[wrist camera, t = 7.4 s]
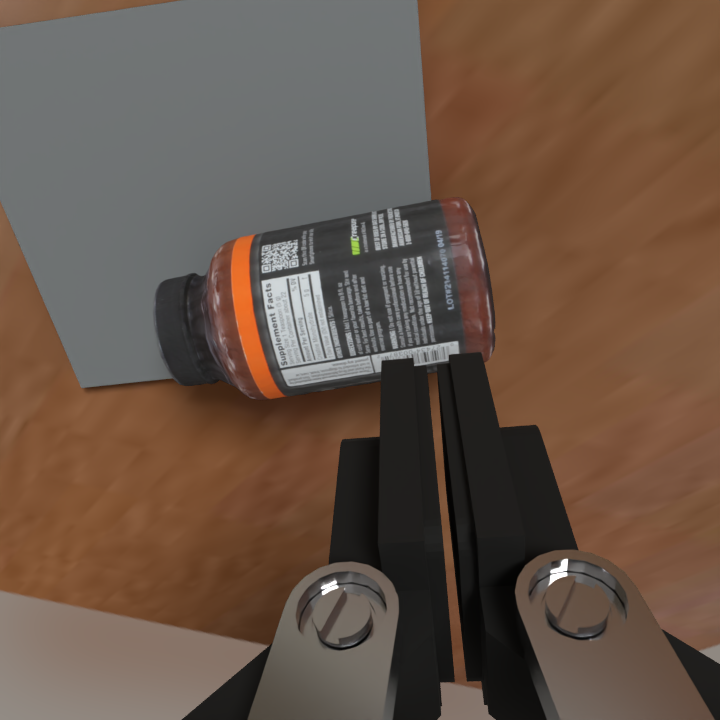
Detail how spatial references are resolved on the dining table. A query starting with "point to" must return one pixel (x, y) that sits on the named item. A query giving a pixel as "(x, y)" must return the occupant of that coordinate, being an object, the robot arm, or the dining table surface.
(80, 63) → the mat
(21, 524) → the dining table surface
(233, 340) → the supplement bottle
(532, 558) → the robot arm
